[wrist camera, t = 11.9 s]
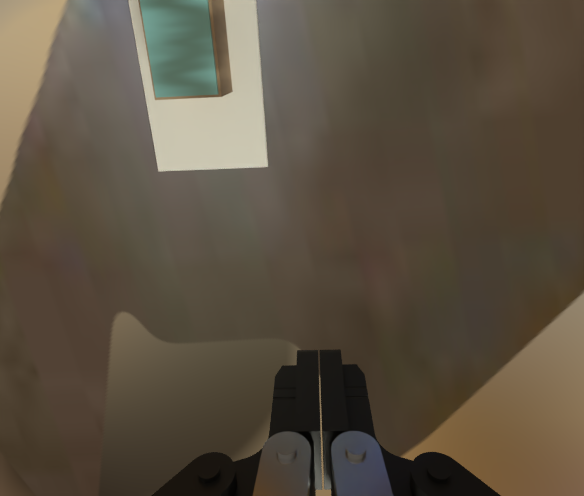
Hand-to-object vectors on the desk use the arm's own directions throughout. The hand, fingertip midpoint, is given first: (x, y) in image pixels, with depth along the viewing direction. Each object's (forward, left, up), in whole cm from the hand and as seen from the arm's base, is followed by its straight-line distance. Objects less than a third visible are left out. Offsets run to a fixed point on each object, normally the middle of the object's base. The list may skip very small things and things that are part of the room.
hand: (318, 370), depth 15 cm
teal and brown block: (+9, -7, -24) cm, 27 cm away
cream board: (+9, -10, -27) cm, 30 cm away
